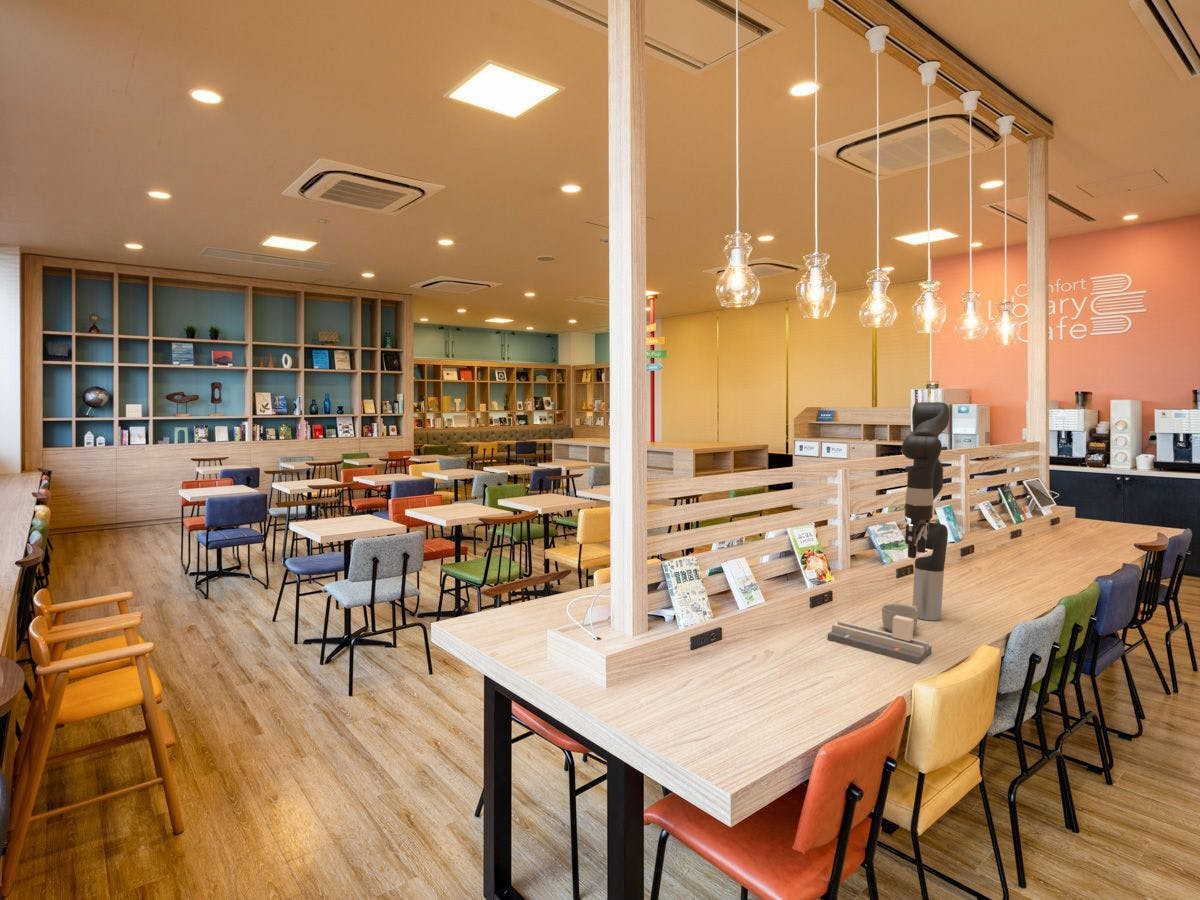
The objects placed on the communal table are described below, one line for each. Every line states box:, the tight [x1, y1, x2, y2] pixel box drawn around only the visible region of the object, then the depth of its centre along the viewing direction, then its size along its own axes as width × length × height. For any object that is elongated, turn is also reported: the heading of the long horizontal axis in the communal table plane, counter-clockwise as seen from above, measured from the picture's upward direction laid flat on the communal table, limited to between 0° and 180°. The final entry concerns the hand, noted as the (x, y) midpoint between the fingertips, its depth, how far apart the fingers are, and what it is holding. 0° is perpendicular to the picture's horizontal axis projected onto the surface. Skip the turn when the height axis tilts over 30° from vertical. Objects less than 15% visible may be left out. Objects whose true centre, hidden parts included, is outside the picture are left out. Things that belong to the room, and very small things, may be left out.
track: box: [827, 620, 932, 665], centre depth 207 cm, size 12×27×4 cm, turn 47°
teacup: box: [881, 603, 919, 633], centre depth 221 cm, size 14×11×8 cm
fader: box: [891, 615, 914, 643], centre depth 202 cm, size 3×5×8 cm, turn 47°
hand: (916, 554), depth 204 cm, fingers open, 8 cm apart
